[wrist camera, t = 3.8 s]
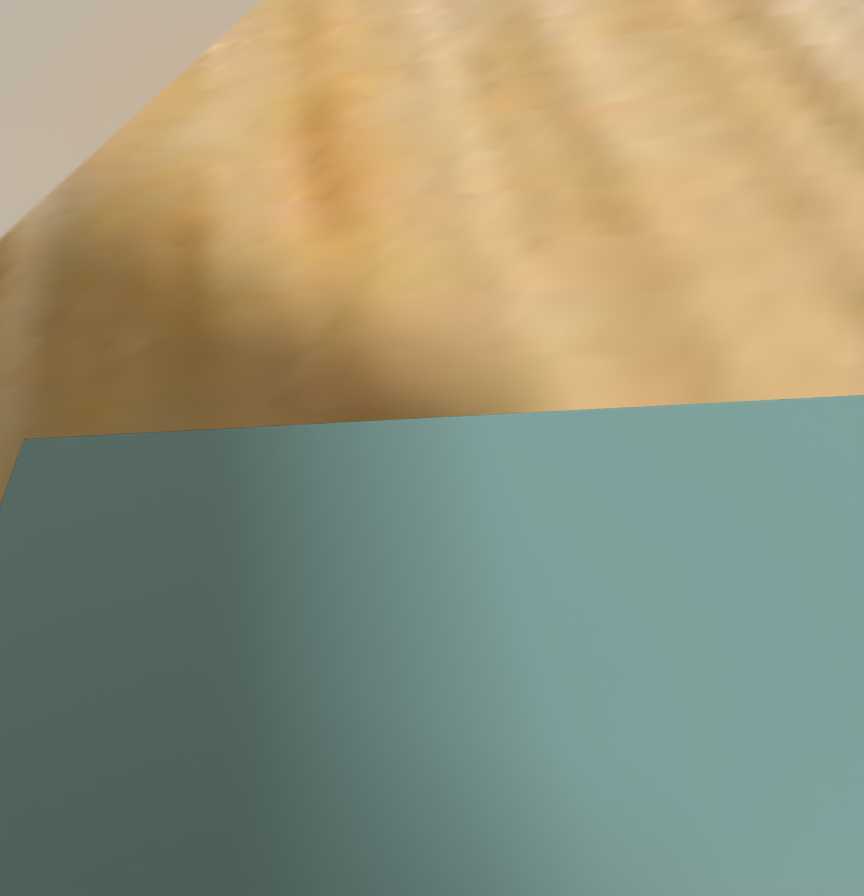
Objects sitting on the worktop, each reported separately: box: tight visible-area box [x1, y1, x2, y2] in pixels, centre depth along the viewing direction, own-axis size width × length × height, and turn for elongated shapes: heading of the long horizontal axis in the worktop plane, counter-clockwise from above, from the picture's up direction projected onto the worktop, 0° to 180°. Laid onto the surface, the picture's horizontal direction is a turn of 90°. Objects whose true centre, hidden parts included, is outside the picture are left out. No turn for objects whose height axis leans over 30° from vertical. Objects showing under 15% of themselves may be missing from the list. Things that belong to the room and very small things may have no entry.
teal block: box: [0, 395, 864, 896], centre depth 8 cm, size 5×5×13 cm
